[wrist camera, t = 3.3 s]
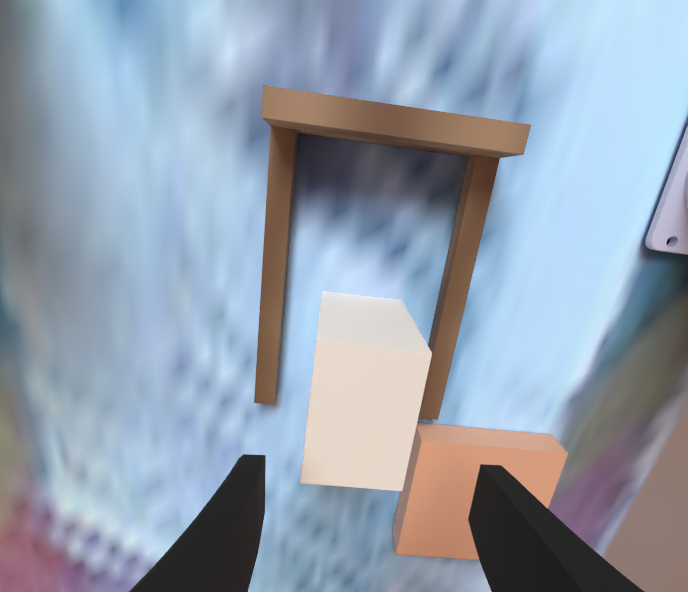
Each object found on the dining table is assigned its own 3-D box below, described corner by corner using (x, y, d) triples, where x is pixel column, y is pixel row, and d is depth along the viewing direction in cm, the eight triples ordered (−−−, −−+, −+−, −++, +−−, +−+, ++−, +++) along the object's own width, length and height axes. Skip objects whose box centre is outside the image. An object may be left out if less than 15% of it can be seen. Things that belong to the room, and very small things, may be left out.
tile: (551, 434, 21) (568, 453, 19) (515, 539, 23) (527, 563, 22) (415, 422, 20) (421, 440, 19) (392, 530, 23) (395, 554, 21)
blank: (401, 299, 18) (432, 353, 12) (382, 402, 20) (402, 491, 14) (322, 290, 18) (316, 340, 12) (310, 395, 20) (300, 483, 14)
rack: (495, 135, 16) (530, 124, 13) (432, 408, 20) (449, 446, 17) (276, 103, 15) (263, 85, 12) (258, 391, 19) (245, 428, 16)
